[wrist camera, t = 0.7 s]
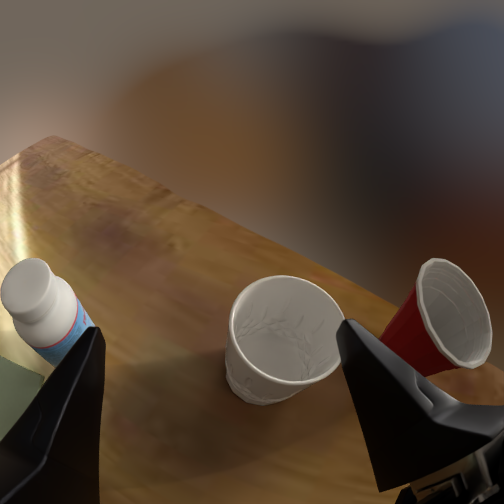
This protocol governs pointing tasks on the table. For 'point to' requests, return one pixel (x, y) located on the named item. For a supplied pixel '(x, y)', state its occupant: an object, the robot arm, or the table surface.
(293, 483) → the table surface
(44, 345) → the pill bottle
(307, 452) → the table surface
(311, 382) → the white cup
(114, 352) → the table surface
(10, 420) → the mat
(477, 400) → the table surface
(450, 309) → the plastic cup
